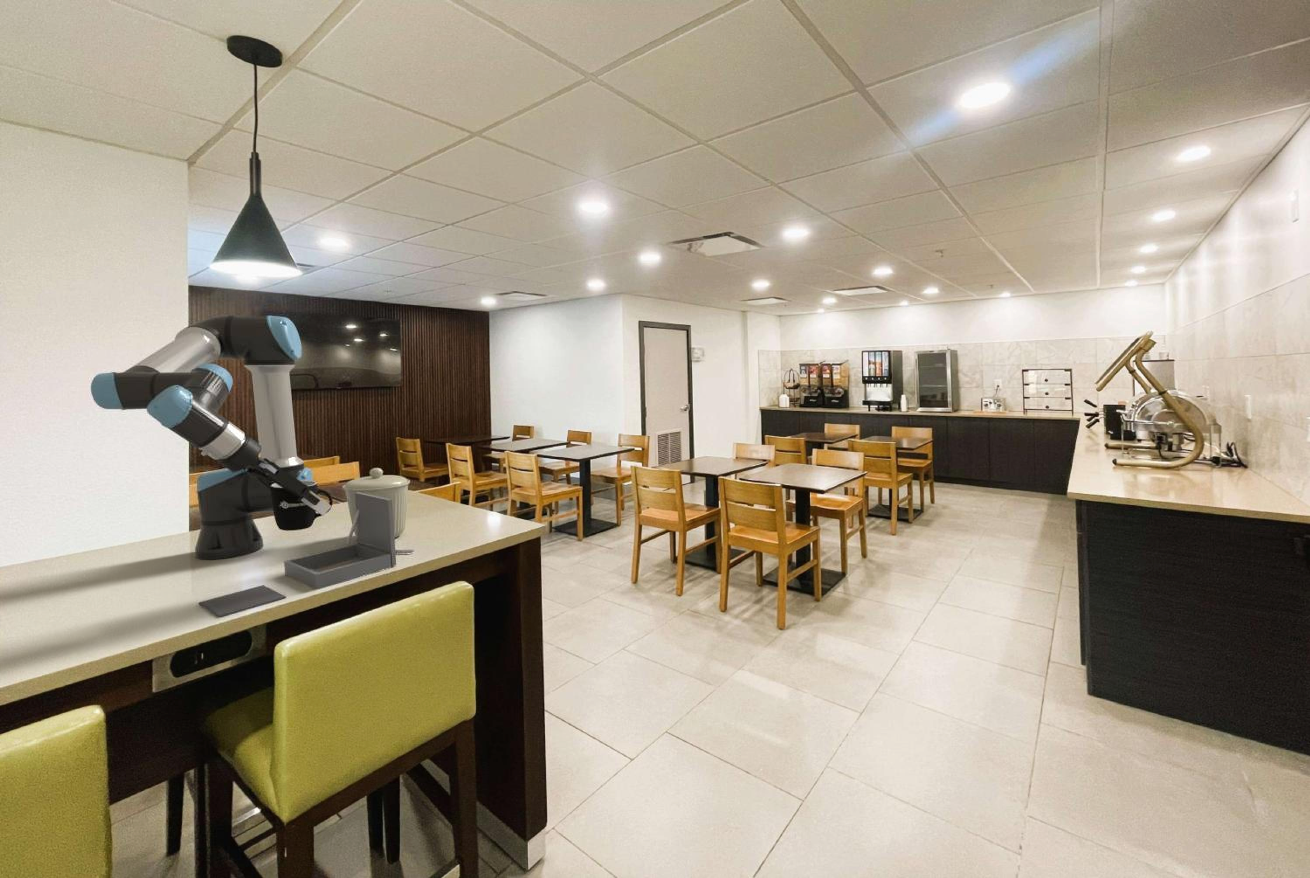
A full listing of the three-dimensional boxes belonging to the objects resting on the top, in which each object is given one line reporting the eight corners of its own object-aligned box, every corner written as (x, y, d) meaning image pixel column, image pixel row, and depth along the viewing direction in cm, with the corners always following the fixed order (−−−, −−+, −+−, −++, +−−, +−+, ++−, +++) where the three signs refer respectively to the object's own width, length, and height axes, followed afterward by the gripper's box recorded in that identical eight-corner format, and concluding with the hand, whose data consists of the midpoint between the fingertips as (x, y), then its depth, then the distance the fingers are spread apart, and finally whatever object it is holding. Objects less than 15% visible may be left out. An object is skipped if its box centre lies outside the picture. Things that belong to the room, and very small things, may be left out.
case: (285, 575, 137) (279, 505, 135) (362, 554, 152) (358, 492, 150) (316, 589, 127) (310, 514, 125) (396, 566, 142) (392, 499, 140)
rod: (367, 555, 152) (367, 551, 152) (369, 554, 153) (369, 550, 153) (411, 555, 152) (411, 551, 152) (413, 553, 154) (413, 549, 153)
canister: (361, 530, 177) (356, 464, 175) (420, 527, 179) (417, 462, 176) (335, 547, 159) (329, 474, 157) (401, 544, 161) (397, 472, 159)
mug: (271, 534, 123) (269, 488, 122) (272, 524, 130) (271, 481, 129) (334, 528, 129) (333, 485, 128) (332, 519, 137) (331, 478, 136)
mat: (198, 604, 119) (198, 602, 119) (263, 586, 129) (263, 585, 129) (219, 617, 112) (219, 615, 112) (286, 598, 122) (285, 596, 122)
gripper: (198, 458, 122) (284, 515, 137) (238, 465, 110) (328, 527, 124) (225, 432, 126) (306, 490, 140) (267, 436, 114) (351, 500, 128)
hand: (316, 508), depth 132 cm, fingers closed on mug, 9 cm apart
